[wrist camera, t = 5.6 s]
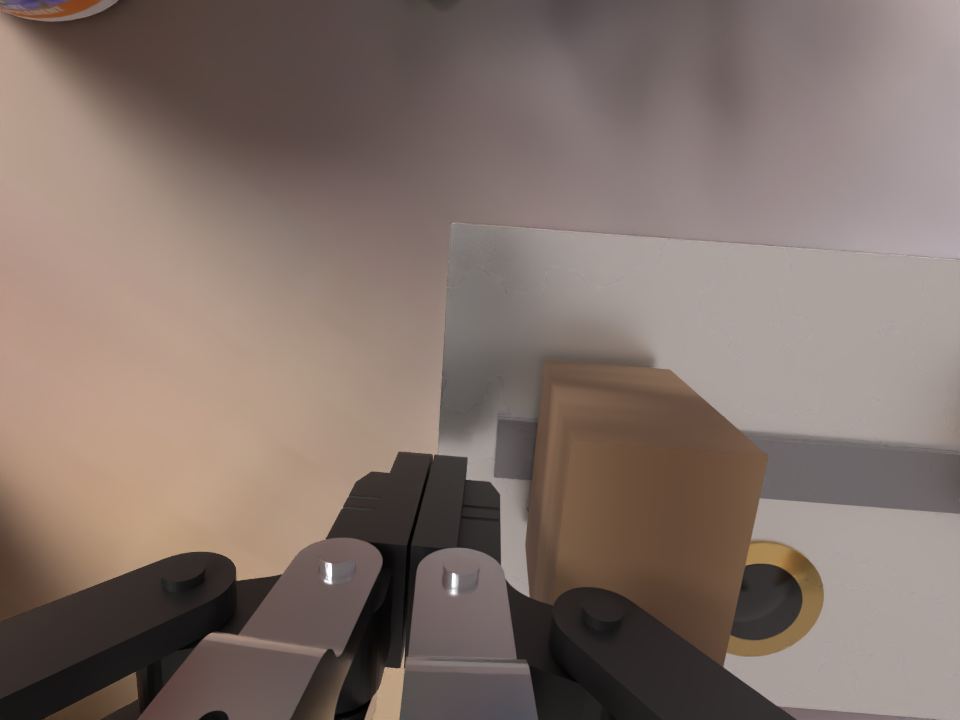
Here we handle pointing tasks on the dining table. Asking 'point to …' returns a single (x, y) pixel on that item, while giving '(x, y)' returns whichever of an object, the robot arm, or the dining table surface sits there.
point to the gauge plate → (752, 430)
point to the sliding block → (642, 497)
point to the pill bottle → (54, 8)
